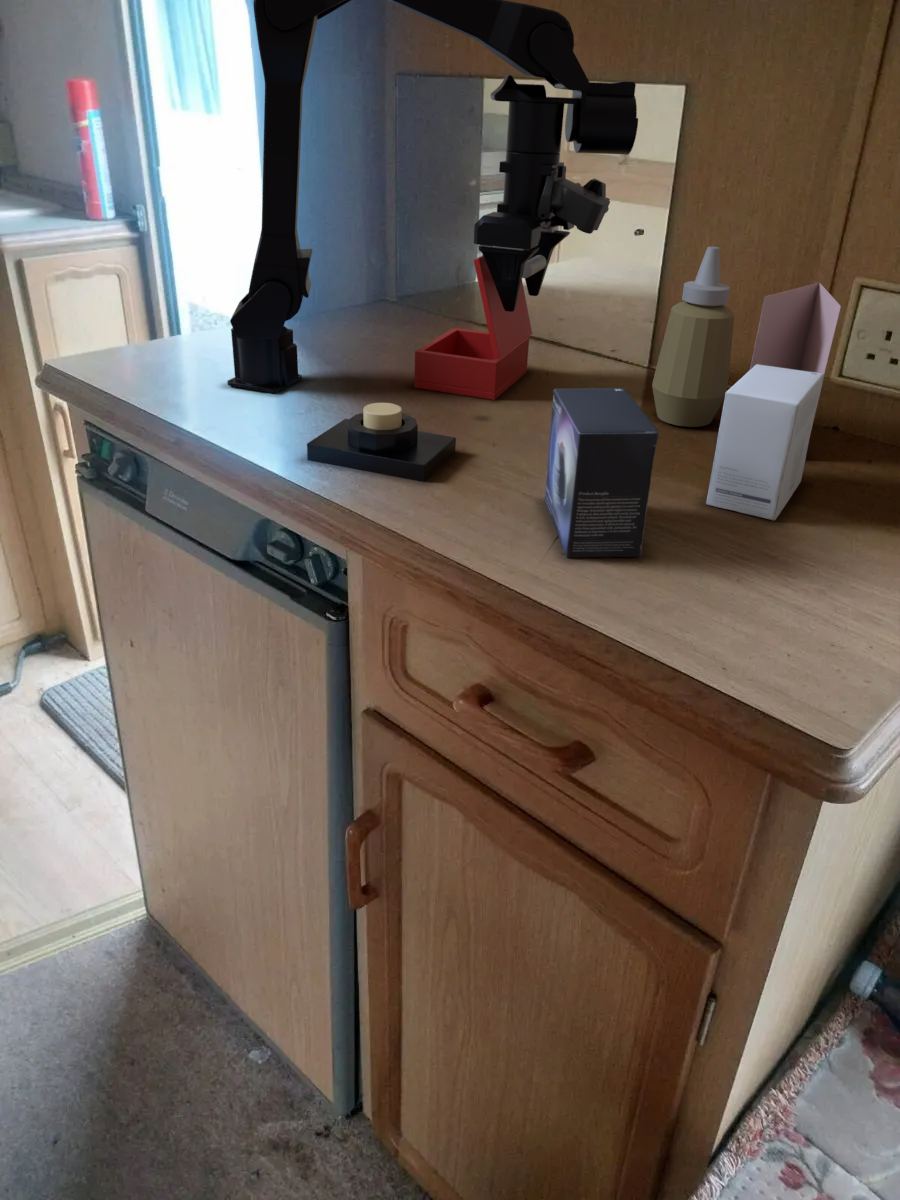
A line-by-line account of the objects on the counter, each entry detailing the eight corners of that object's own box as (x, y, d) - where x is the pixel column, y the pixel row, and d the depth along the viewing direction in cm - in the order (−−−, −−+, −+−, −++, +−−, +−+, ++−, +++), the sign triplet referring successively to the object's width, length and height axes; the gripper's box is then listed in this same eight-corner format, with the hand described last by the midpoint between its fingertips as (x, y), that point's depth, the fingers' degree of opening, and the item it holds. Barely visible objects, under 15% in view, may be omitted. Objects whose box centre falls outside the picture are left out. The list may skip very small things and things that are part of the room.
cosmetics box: (733, 468, 89) (755, 360, 83) (800, 483, 86) (828, 373, 81) (701, 504, 81) (723, 388, 76) (774, 522, 78) (803, 403, 73)
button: (357, 429, 85) (356, 411, 84) (373, 417, 88) (373, 400, 87) (392, 435, 84) (392, 417, 83) (407, 423, 87) (407, 405, 86)
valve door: (473, 259, 98) (517, 249, 96) (509, 243, 108) (550, 234, 106) (494, 359, 102) (537, 352, 100) (527, 334, 112) (566, 327, 110)
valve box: (414, 387, 107) (414, 351, 105) (452, 361, 117) (453, 327, 115) (494, 400, 104) (496, 362, 102) (526, 372, 114) (529, 337, 112)
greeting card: (779, 420, 102) (811, 281, 94) (844, 438, 97) (882, 293, 90) (726, 444, 94) (756, 295, 87) (793, 464, 90) (831, 309, 82)
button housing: (307, 460, 86) (305, 425, 85) (345, 434, 93) (344, 400, 91) (424, 482, 83) (425, 446, 81) (455, 453, 89) (457, 419, 88)
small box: (538, 502, 80) (549, 385, 75) (611, 502, 80) (627, 385, 75) (561, 558, 71) (575, 429, 65) (643, 558, 71) (664, 430, 66)
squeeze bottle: (727, 415, 102) (760, 246, 93) (713, 437, 96) (748, 257, 87) (656, 403, 105) (682, 238, 96) (638, 424, 99) (664, 248, 90)
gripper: (586, 163, 86) (569, 329, 94) (626, 151, 102) (609, 295, 109) (475, 155, 90) (468, 316, 98) (530, 145, 105) (520, 285, 113)
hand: (521, 303), depth 104 cm, fingers open, 9 cm apart
